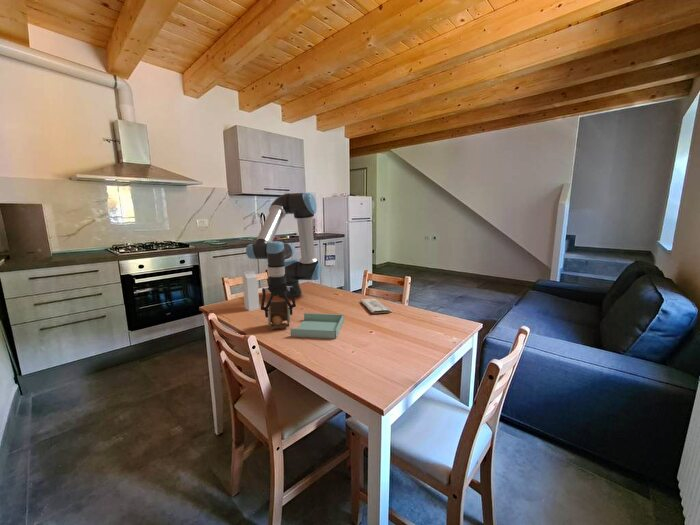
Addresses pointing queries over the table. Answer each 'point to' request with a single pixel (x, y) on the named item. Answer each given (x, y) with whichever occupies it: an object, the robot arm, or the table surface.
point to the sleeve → (279, 312)
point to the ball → (276, 320)
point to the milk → (250, 290)
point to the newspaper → (375, 306)
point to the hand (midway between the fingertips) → (279, 322)
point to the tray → (319, 326)
